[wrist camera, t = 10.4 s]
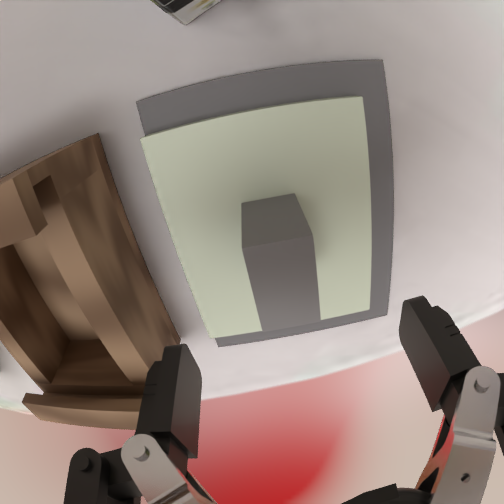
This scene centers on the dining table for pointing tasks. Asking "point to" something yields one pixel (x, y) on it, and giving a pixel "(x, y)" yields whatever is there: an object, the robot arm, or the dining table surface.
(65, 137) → the dining table surface
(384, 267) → the rubber mat
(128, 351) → the walnut box
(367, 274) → the cover plate
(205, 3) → the tea box
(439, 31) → the dining table surface
